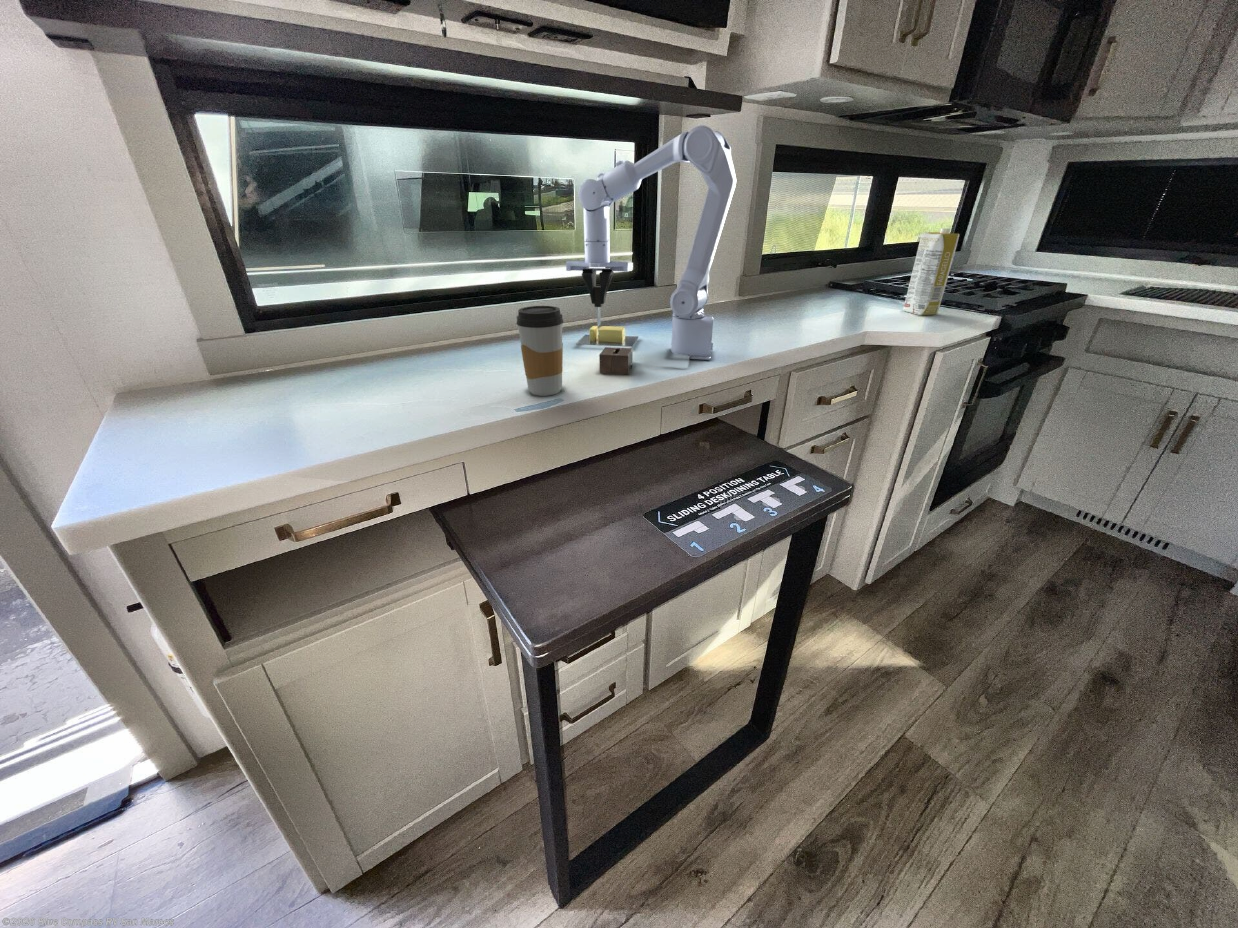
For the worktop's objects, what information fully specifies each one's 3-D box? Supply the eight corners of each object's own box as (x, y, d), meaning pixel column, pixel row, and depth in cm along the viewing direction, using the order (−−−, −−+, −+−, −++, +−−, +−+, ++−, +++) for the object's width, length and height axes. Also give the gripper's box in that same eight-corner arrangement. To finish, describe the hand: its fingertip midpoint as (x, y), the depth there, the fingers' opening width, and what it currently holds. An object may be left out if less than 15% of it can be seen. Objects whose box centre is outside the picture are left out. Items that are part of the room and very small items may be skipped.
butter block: (625, 338, 127) (625, 326, 126) (622, 342, 124) (622, 330, 123) (601, 338, 128) (601, 326, 127) (598, 341, 125) (598, 329, 123)
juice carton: (942, 315, 155) (966, 229, 144) (919, 316, 154) (942, 229, 142) (919, 309, 163) (941, 227, 152) (898, 310, 162) (918, 228, 150)
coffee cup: (576, 390, 96) (572, 309, 89) (539, 401, 91) (531, 316, 84) (551, 380, 101) (545, 303, 94) (514, 390, 97) (506, 309, 90)
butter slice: (597, 337, 128) (597, 326, 127) (594, 341, 125) (594, 329, 124) (593, 337, 129) (592, 325, 127) (589, 341, 125) (589, 329, 124)
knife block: (632, 366, 110) (632, 348, 108) (628, 374, 104) (628, 355, 103) (605, 365, 111) (605, 347, 109) (599, 373, 105) (599, 354, 103)
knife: (603, 324, 124) (602, 285, 120) (601, 326, 121) (600, 287, 117) (597, 324, 124) (596, 285, 120) (594, 326, 122) (593, 287, 118)
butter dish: (638, 340, 130) (638, 336, 130) (632, 350, 121) (632, 346, 121) (585, 338, 132) (585, 334, 132) (575, 348, 123) (575, 344, 123)
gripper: (561, 242, 112) (564, 305, 118) (625, 242, 110) (625, 307, 116) (569, 240, 118) (572, 300, 124) (630, 240, 116) (630, 301, 122)
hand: (598, 303), depth 121 cm, fingers closed on knife, 1 cm apart
